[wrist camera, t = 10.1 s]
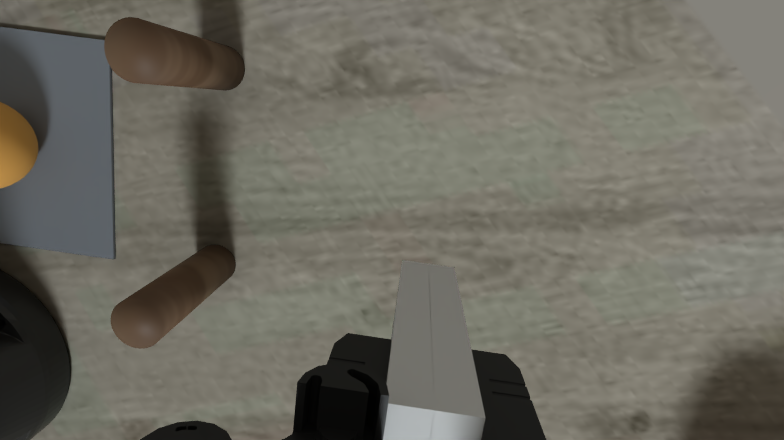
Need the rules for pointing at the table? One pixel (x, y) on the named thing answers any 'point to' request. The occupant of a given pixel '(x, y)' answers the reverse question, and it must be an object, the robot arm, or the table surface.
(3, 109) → the ball
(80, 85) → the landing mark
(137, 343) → the post
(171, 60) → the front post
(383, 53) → the table surface
